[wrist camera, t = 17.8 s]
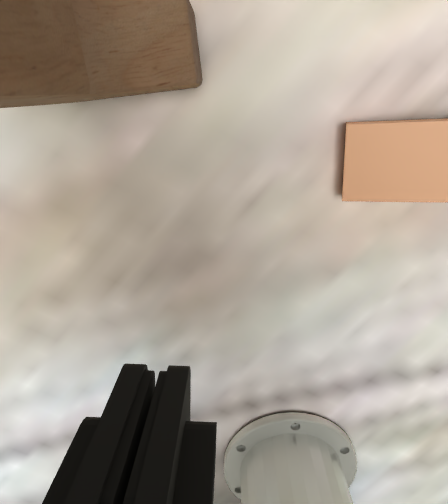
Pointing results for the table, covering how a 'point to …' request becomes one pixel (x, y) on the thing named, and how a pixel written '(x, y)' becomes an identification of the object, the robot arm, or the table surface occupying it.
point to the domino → (396, 161)
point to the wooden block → (95, 49)
